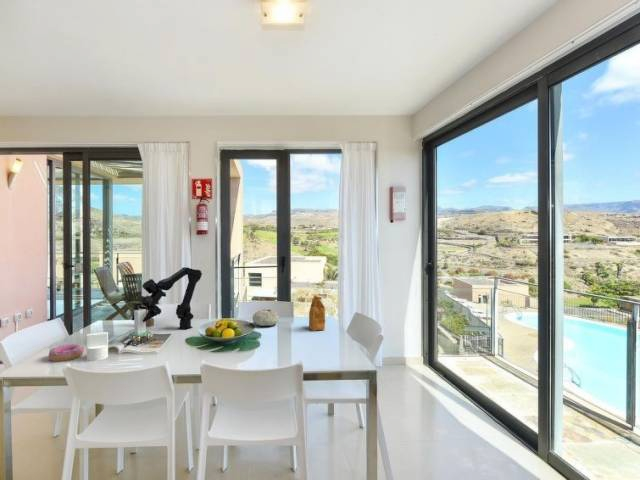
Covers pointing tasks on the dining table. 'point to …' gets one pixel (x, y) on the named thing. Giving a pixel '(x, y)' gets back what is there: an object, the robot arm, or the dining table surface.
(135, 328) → the column on green base
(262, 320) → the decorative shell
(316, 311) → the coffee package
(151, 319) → the brown boot
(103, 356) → the cylinder with rectangular tab
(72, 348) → the donut
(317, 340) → the dining table surface
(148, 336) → the plate
